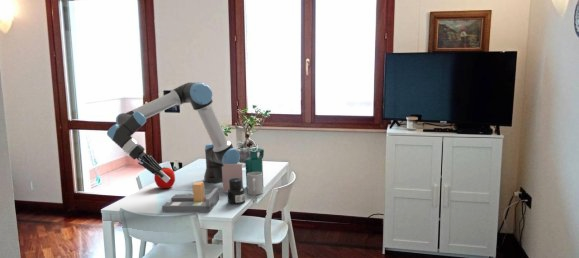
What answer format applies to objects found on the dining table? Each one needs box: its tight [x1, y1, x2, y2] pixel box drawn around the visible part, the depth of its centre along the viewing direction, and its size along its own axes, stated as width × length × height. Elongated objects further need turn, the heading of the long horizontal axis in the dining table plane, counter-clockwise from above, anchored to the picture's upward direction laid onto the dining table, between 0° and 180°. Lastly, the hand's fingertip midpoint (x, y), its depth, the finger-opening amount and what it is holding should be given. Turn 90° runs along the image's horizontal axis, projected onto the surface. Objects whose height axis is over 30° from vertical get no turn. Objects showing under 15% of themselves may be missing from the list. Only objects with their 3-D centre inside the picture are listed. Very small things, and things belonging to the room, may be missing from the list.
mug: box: [246, 172, 264, 196], centre depth 253 cm, size 12×8×11 cm
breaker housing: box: [161, 187, 221, 213], centre depth 236 cm, size 24×20×6 cm
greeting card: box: [222, 163, 244, 193], centre depth 260 cm, size 11×7×15 cm, turn 74°
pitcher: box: [244, 147, 265, 186], centre depth 266 cm, size 10×8×22 cm
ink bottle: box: [227, 178, 246, 205], centre depth 239 cm, size 10×9×12 cm
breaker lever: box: [192, 181, 206, 202], centre depth 235 cm, size 4×6×10 cm, turn 175°
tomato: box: [154, 166, 176, 189], centre depth 270 cm, size 12×12×13 cm
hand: (168, 180), depth 234 cm, fingers closed
